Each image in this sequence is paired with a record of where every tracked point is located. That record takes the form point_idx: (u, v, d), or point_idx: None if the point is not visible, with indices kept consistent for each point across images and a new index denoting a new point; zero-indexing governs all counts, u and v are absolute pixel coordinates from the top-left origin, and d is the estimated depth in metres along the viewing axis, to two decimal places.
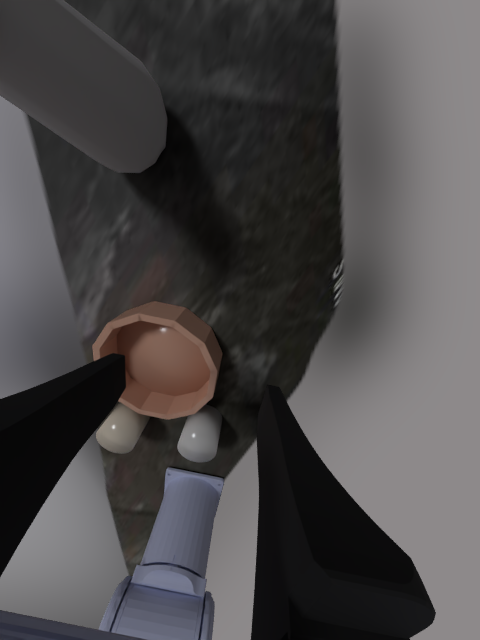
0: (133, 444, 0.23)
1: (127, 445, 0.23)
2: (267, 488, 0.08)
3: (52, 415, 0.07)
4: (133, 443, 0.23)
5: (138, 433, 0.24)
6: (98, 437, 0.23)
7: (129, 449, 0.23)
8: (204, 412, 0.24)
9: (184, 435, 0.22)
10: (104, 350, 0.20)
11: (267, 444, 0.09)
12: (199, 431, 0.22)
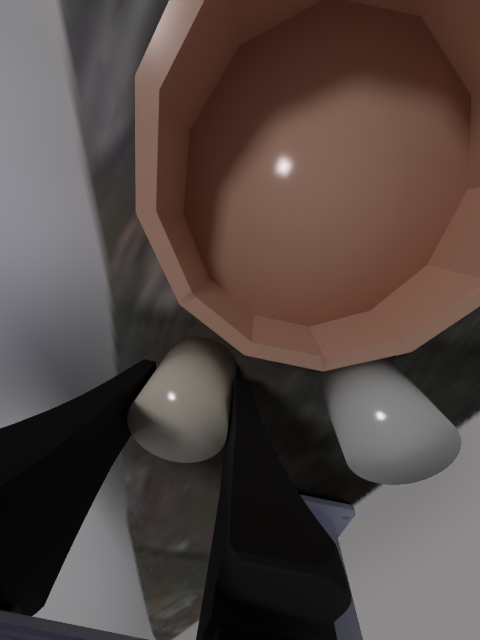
0: (223, 440, 0.09)
1: (207, 442, 0.09)
2: (224, 479, 0.08)
3: (99, 425, 0.07)
4: (224, 437, 0.09)
5: (229, 413, 0.09)
6: (132, 421, 0.09)
7: (210, 453, 0.09)
8: (381, 363, 0.10)
9: (377, 414, 0.08)
10: (168, 127, 0.06)
11: (229, 436, 0.09)
12: (416, 402, 0.08)
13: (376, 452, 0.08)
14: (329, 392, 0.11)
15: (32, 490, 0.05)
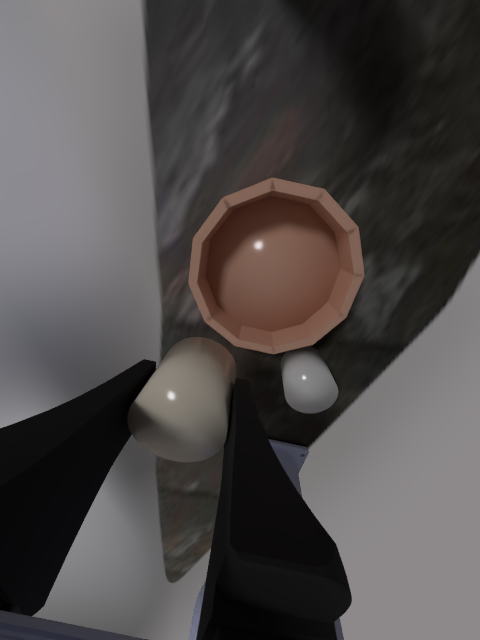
0: (223, 439, 0.09)
1: (207, 442, 0.09)
2: (224, 479, 0.08)
3: (99, 425, 0.07)
4: (224, 437, 0.09)
5: (229, 413, 0.09)
6: (133, 421, 0.09)
7: (209, 452, 0.09)
8: (309, 352, 0.19)
9: (297, 374, 0.17)
10: (203, 249, 0.15)
11: (229, 436, 0.09)
12: (317, 369, 0.17)
13: (299, 394, 0.17)
14: (282, 368, 0.19)
15: (32, 490, 0.05)
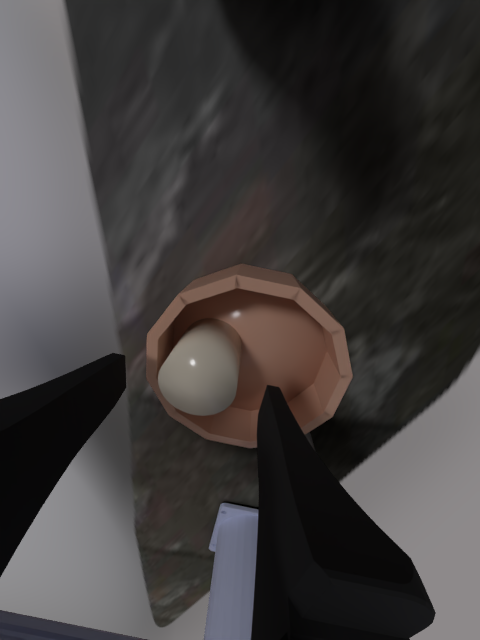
0: (233, 395, 0.11)
1: (220, 397, 0.11)
2: (267, 488, 0.08)
3: (53, 415, 0.07)
4: (234, 392, 0.11)
5: None
6: (162, 380, 0.11)
7: (222, 406, 0.11)
8: None
9: None
10: (162, 341, 0.13)
11: (267, 444, 0.09)
12: None
13: None
14: None
15: None
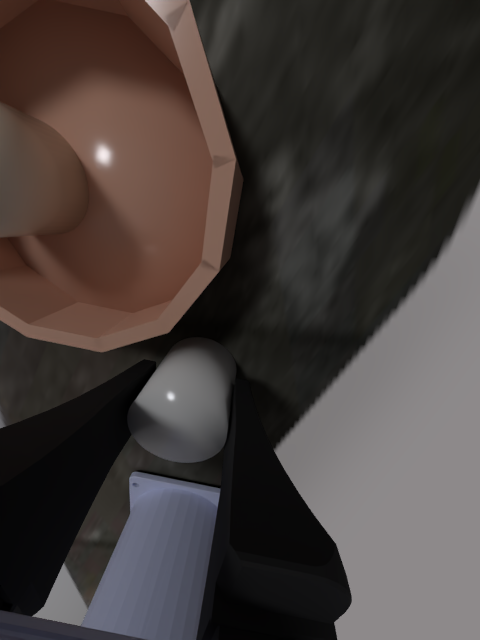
0: None
1: None
2: (224, 479, 0.08)
3: (99, 425, 0.07)
4: None
5: (5, 159, 0.06)
6: None
7: None
8: (197, 348, 0.11)
9: (143, 392, 0.08)
10: None
11: (229, 436, 0.09)
12: (182, 381, 0.08)
13: (156, 430, 0.09)
14: None
15: (32, 490, 0.05)
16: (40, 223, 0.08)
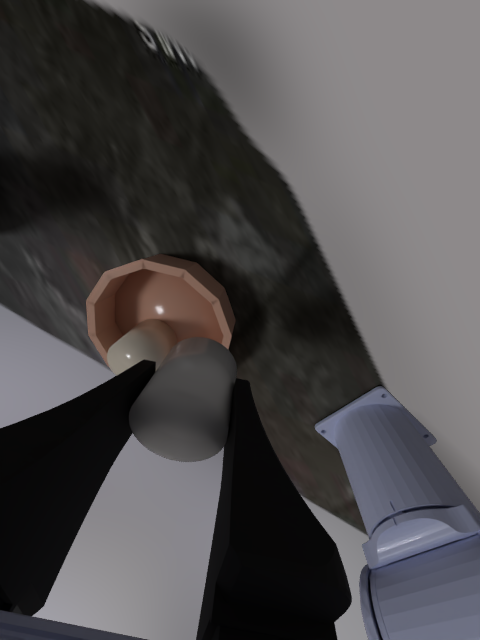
0: (147, 349, 0.16)
1: (146, 356, 0.16)
2: (224, 479, 0.08)
3: (99, 425, 0.07)
4: (145, 347, 0.16)
5: (148, 338, 0.17)
6: None
7: (154, 360, 0.16)
8: (197, 348, 0.11)
9: (143, 393, 0.08)
10: None
11: (229, 436, 0.09)
12: (182, 381, 0.08)
13: (158, 430, 0.09)
14: None
15: (32, 490, 0.05)
16: (168, 347, 0.18)
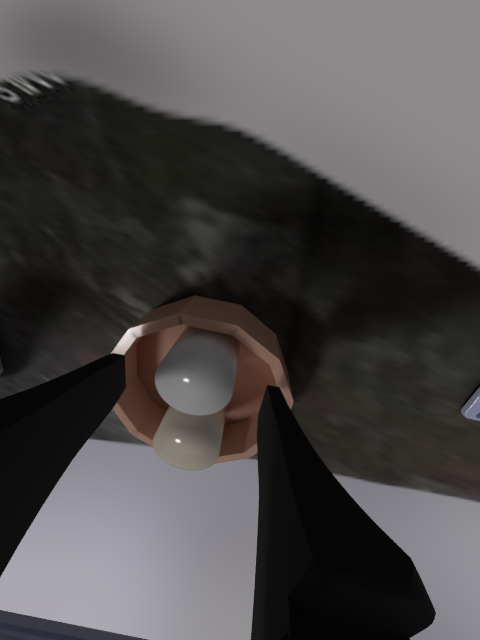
0: (191, 426, 0.12)
1: (195, 435, 0.13)
2: (267, 488, 0.08)
3: (53, 415, 0.07)
4: (188, 425, 0.12)
5: None
6: (184, 467, 0.14)
7: (205, 435, 0.12)
8: None
9: (167, 356, 0.11)
10: None
11: (267, 444, 0.09)
12: (197, 347, 0.11)
13: (177, 387, 0.11)
14: None
15: None
16: None
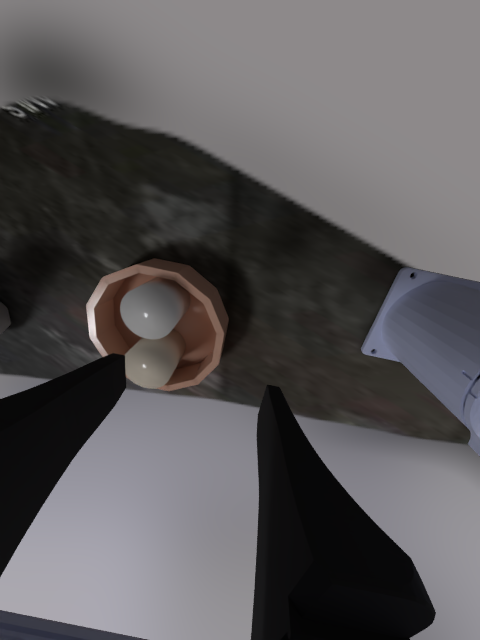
0: (148, 349, 0.17)
1: (151, 356, 0.17)
2: (267, 488, 0.08)
3: (53, 415, 0.07)
4: (146, 348, 0.17)
5: (147, 341, 0.18)
6: (146, 385, 0.19)
7: (159, 356, 0.17)
8: (161, 278, 0.18)
9: None
10: None
11: (267, 444, 0.09)
12: (148, 286, 0.15)
13: (136, 316, 0.16)
14: None
15: None
16: (172, 343, 0.19)
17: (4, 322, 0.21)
